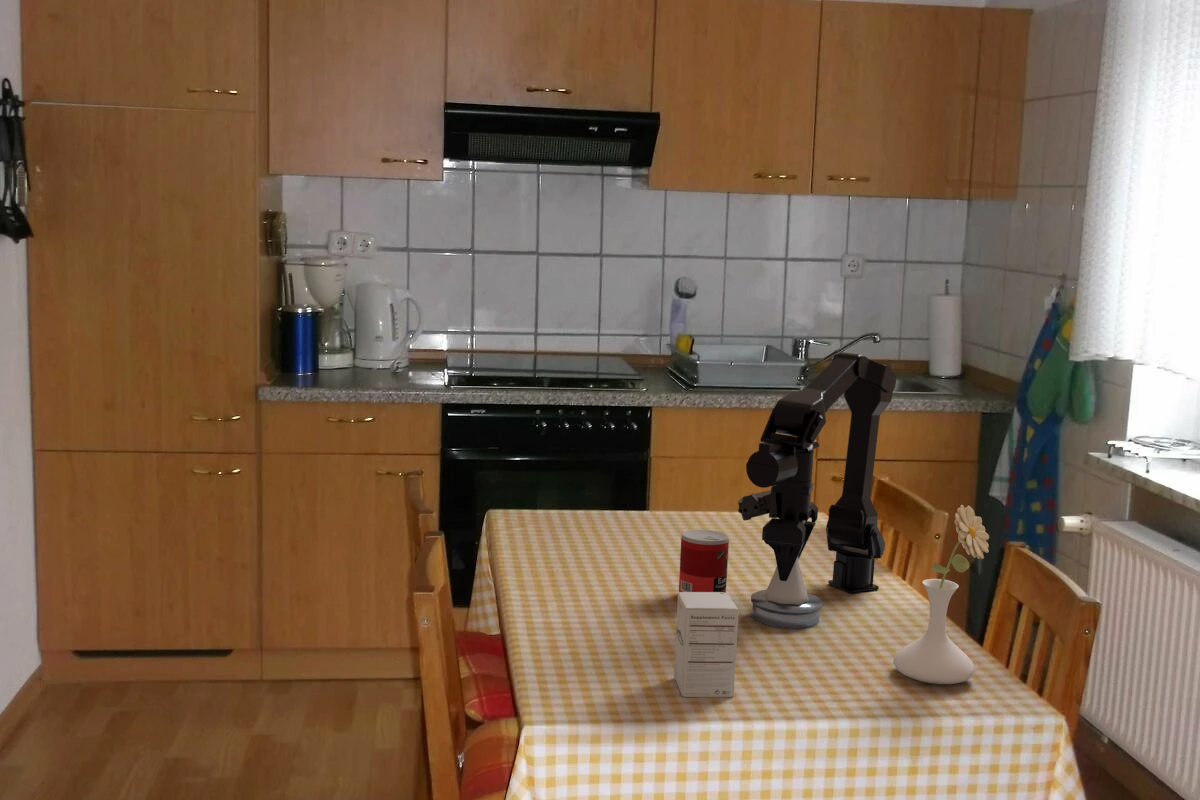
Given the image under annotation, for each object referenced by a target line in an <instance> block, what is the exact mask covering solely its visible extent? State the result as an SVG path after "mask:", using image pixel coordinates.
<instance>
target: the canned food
mask: <svg viewBox="0 0 1200 800" xmlns="http://www.w3.org/2000/svg"><path fill="white" fill-rule="evenodd" d="M729 538H730V537H729V535H728V534H726V533H723V532H720V531H717V530H709V529H689V530H686V531H683V532H682V533H681V537H680V556H679V557H680V558H679V577H678V579H679V580H678V581H679V582H678V592H724V593H727V582H728V581H727V580H728V578H727V577H728V564H729V563H728V560H729V550H730V548H729V547H730V545H729V544H730V543H729V542H730V539H729Z"/></svg>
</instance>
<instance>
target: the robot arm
mask: <svg viewBox="0 0 1200 800" xmlns="http://www.w3.org/2000/svg"><path fill="white" fill-rule="evenodd" d="M896 385H897V376H896V373H895V372H894V371H892V368H891V367H890V365H886V364H882V363H879V362H876V361H874V360H871V359H869V358H868V357H867V356H865V355H863V354H861V353H852V352H844V351H843V352H842V351H841V352H837V353H835V354H834V356H833V359H832V361H831V363H829V364H828V365H827V366H826V367H825V368H824V369H823V370H822V371H821V372H820V373H819V374H818V375H817V376H816V377H815V378H814V379H813V380H812V382H810V383H809V384H808V385H807V386H805V388H804V389H802V390H798V391H795V392H791V393H788V394H786V395H784V396H783V397H782V398H780V399H779V400H778V401H777V402H776V403H775V405H774V406H773V408H772V410H771V413H770V414H769V418H768V421H767V423H766V424H765V428H764V430H763V432H762V434H761V437H760V442H759V444H758V451H755V452H753V453H752V454H751V455H750V456H749V458H748V460H747V462H746V465H745V470H746V475H747V478H748V479H749V481H750V482H751V483H752V484H753V485H755V486H756V487H757V488H762V489H766V488H769V487H770V490H765V491H764V490H763V491H761V492H757V493H750V494H749V495H747V494H744V495H743V497H741V498H740V499H739V500H738V501H737V504H738V510H737V511H738V513H739V514H741V517H742V520H743V521H750V520H752V518H756V517H760V516H761V517H762V516H764V515H768V518H769V520H768V521H767V522H766V523H765V524H764V525H763V527H762V532H761V540H762V541H764V544H766V545H768V546H769V547H770V548H771V549H772V550H773V553H774V557H775V562H776V567H777V568H778V573H779V579H780V580H781V581H787V579H788V577H789V575H790V573H791V571H792V568H793V566H794V564H795V562H796V559H797V557H798V560H800V557H801V555H802V553H803V552H804V549H805V547H806V545H807V543H808V541H809V539H810V537H811V534H812V532H813V531H814V527H815V526H816V522H817V520H818V514H819V508H818V506H817V505H816V504H815V503H814V502H813V501H811V498H812V492H813V490H814V483H813V467H814V466H813V465H814V451H815V449H818V448H819V447H820V443H819V442H818V441H817V440H816V439H817V437H818V436H819V434H820V432H821V431H822V430H823V428H824V426H825V425H826V424H827V419H826V417H827V416H826V413H827V412H828V410H830V408H831V407H832V406H833V405H834V403H836V402H837V401H838V400H839V399H840V398H841V396H842V395H843V398H844V400H845V402H846V404H847V406H848V408H849V409H848V410H850V412H851V414H850V415H851V416H850V424H849V431H848V432H849V433H848V438H847V439H848V440H847V449H846V458H845V466H844V474H843V485H842V490H841V491H842V492H841V496H840V498H838V500H837V501H836V502H835V503H834V504H831V505H830V507H829V508H828V518H827V521H826V522H827V523H826V527H825V532H826V541H827V549H828V551H829V552H835V560H834V561H833V571H832V579H830V580H828V584H829V585H831V586H834V587H836V588H838V589H840V590H843V591H845V592H847V593H849V594H850V593H851V594H852V593H853V594H854V593H859V592H860V593H861V592H868V591H875V590H879V589H880V586H879V585H876V584H874V575H875V560H876V559H882V557H883V556H884V554H885V553H884V552H885V548H886V541H885V539H884V537H883V535H882V533H881V531H880V528H879V527H878V518H879V516H878V512H877V510H876V508H875V505H874V503H873V501H872V499H871V495H872V494H871V493H872V486H873V485H872V484H873V478H874V477H873V475H874V468H875V467H874V466H875V462H876V461H875V460H876V459H875V458H876V454H877V453H876V452H877V443H878V435H879V427H880V418H881V415H882V414H883V412H884V411H885V410H886V408H888V406H889V405H890V403H891V402H892V398H893V393H894V391H895V388H896ZM770 518H771V519H770ZM809 519H811V521H809Z"/></svg>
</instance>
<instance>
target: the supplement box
mask: <svg viewBox="0 0 1200 800" xmlns="http://www.w3.org/2000/svg"><path fill="white" fill-rule="evenodd" d="M676 608H677V609H676V610H677V611H676V612H677V613H676V628H675V629H676V630H675V631H676V632H675V646H674V647H675V649H674V667H673V669H674V670H673V677H674V680H675V682H676V684H677V686H678V689H679V691H680V695H681V697H683V698H733V697H734V694H735V682H736V681H735V679H736V677H735V676H736V675H735V674H736V660H737V644H738V626H739V608H738V606H737V604H736V602H734V599H733V598H732V597H731V596H730V594H729V592H726V593H724V592H679V591H678V593H677V607H676Z"/></svg>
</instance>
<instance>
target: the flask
mask: <svg viewBox="0 0 1200 800" xmlns="http://www.w3.org/2000/svg"><path fill="white" fill-rule="evenodd" d="M799 560H800V559H799ZM799 560H798V557H797V559H796V562H795V564H794V566H793V568H792V571H791V573H790V575H789V577H788V579H787V581H781V580H780V579H779V573H778V568H777V566H776V567H775V569H774V572H773V574H772V576H771V579H770V582H769V584H768V586H767V588H766V589H765V590H766V593H765V597H766V600H769V601H773V602H777V603H780V604H796V605H801V604H803V603H805V602H807V601H809V599H808V595H807V593H808V592H807V589H806V585H805V581H804V579H803V574H802V570H801V566H800V562H799Z"/></svg>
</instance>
